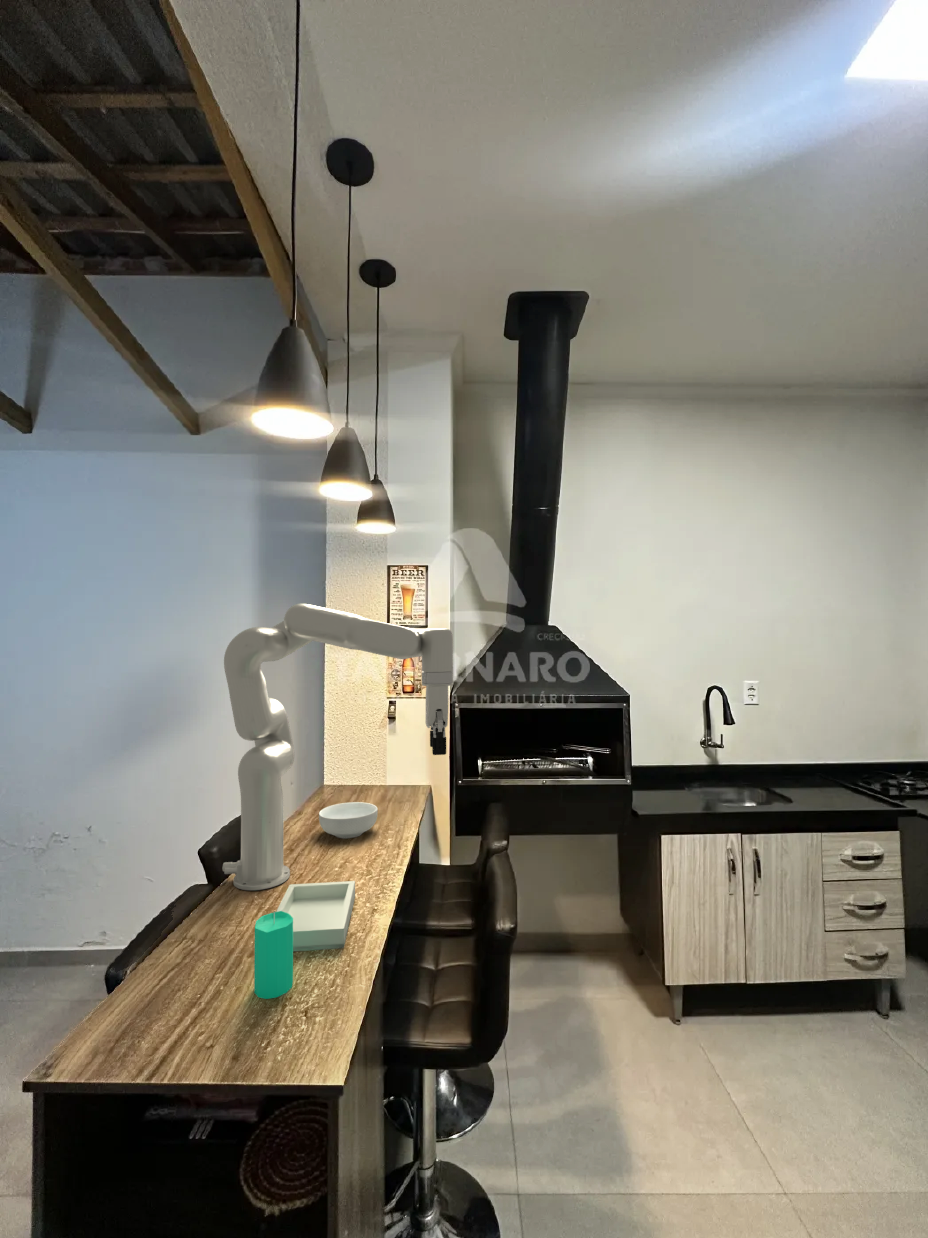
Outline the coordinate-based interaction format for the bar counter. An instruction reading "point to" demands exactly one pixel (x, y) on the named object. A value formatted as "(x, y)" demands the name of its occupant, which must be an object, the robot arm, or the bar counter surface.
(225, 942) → the bar counter surface
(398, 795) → the bar counter surface
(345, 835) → the cereal bowl
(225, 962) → the bar counter surface
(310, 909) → the tray
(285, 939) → the candle
